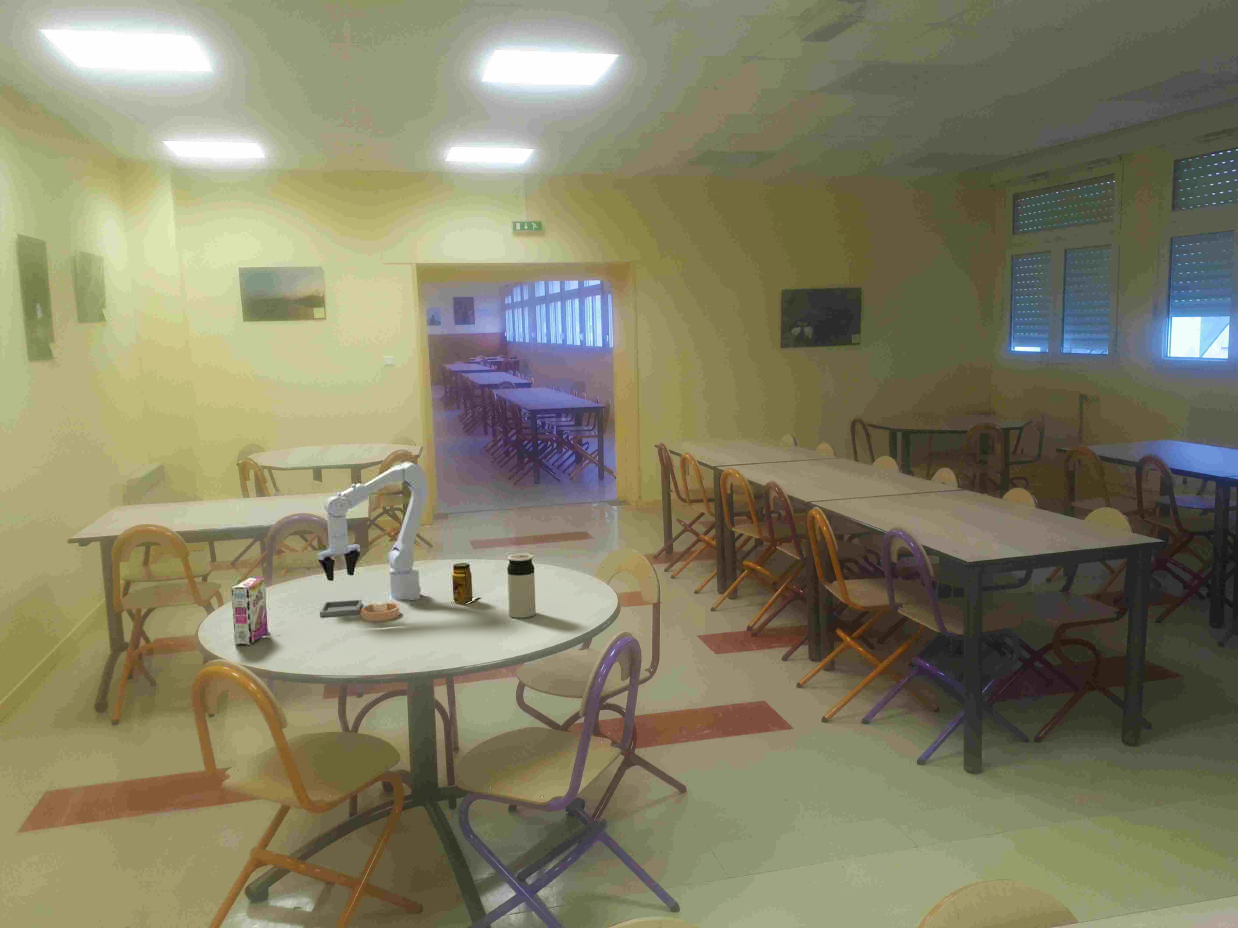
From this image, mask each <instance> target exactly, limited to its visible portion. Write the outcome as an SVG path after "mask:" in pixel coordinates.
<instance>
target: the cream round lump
mask: <svg viewBox="0 0 1238 928" xmlns="http://www.w3.org/2000/svg"><path fill="white" fill-rule="evenodd" d="M372 604H373V610H374V612H385V611H387V601H384V600H383V601H382V600H379V601H375V602H373V603H372Z"/></svg>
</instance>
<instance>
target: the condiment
mask: <svg viewBox="0 0 1238 928" xmlns="http://www.w3.org/2000/svg"><path fill="white" fill-rule="evenodd" d="M452 568H453V569H452V574H451V575H452V576H451V578H452V593H453V594H452V598H453V600H454V603H453V602H452V603H451V602H450V601H449V602H448V603H449V604H455V603H468V602H470V601H472V598H473V597H474V596H473V579H472V577H473V576H472V572H471V565H470V564H469V563H467V562H458V563H455V564H453V566H452Z"/></svg>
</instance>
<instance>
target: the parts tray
mask: <svg viewBox="0 0 1238 928" xmlns="http://www.w3.org/2000/svg"><path fill="white" fill-rule="evenodd" d="M362 605H363V600H362V599H353V600H338V601H336V600H334V601H325V602H324V604H323V606H322V607H321V610H320V611H319V617H320V618H323V617H327V618H328V617H337V616H338V617H339V616H340V617H341V616H352V615H355V616H356V615H359V613H360V611H361V609H362V608H361V607H362Z"/></svg>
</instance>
